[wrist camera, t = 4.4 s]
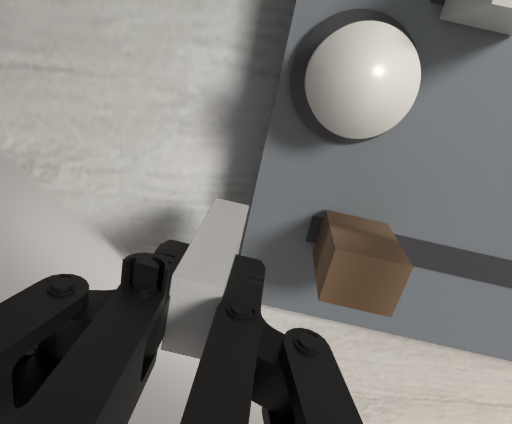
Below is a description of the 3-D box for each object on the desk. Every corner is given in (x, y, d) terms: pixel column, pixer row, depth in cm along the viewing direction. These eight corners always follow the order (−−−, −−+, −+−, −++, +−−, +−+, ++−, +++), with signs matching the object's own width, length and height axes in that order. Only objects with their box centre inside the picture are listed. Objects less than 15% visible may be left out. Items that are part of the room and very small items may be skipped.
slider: (312, 252, 18) (318, 300, 15) (325, 209, 17) (335, 249, 14) (371, 266, 18) (391, 317, 15) (387, 223, 17) (413, 266, 14)
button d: (293, 118, 16) (294, 126, 14) (319, 15, 14) (323, 8, 12) (384, 139, 16) (397, 149, 14) (420, 38, 14) (439, 35, 12)
